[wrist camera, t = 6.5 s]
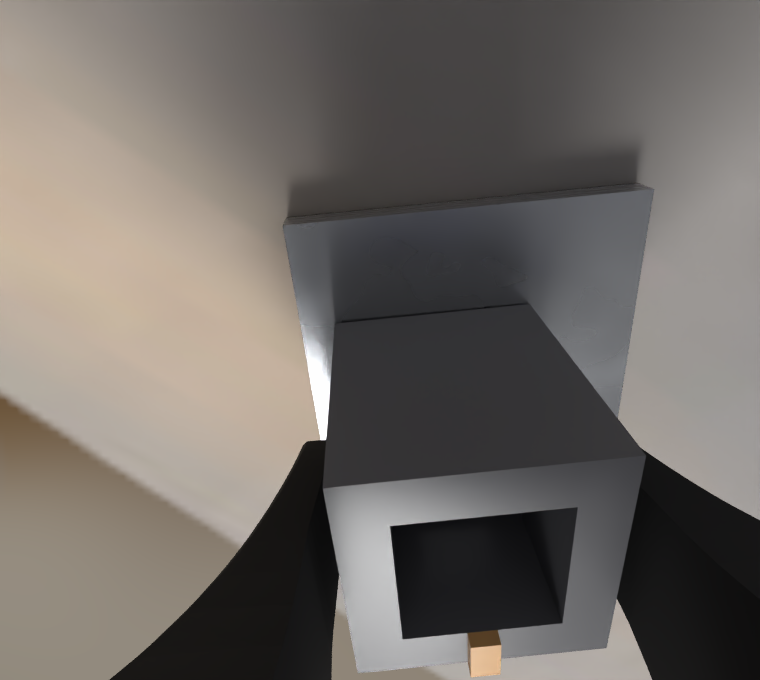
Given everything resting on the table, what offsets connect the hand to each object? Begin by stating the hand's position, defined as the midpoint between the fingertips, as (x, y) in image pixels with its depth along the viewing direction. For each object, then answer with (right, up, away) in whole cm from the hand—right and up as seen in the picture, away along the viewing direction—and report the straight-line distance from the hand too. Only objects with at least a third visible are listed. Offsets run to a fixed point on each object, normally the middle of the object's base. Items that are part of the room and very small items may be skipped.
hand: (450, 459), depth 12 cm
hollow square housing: (0, +1, +2) cm, 3 cm away
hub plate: (+1, +3, +2) cm, 4 cm away
